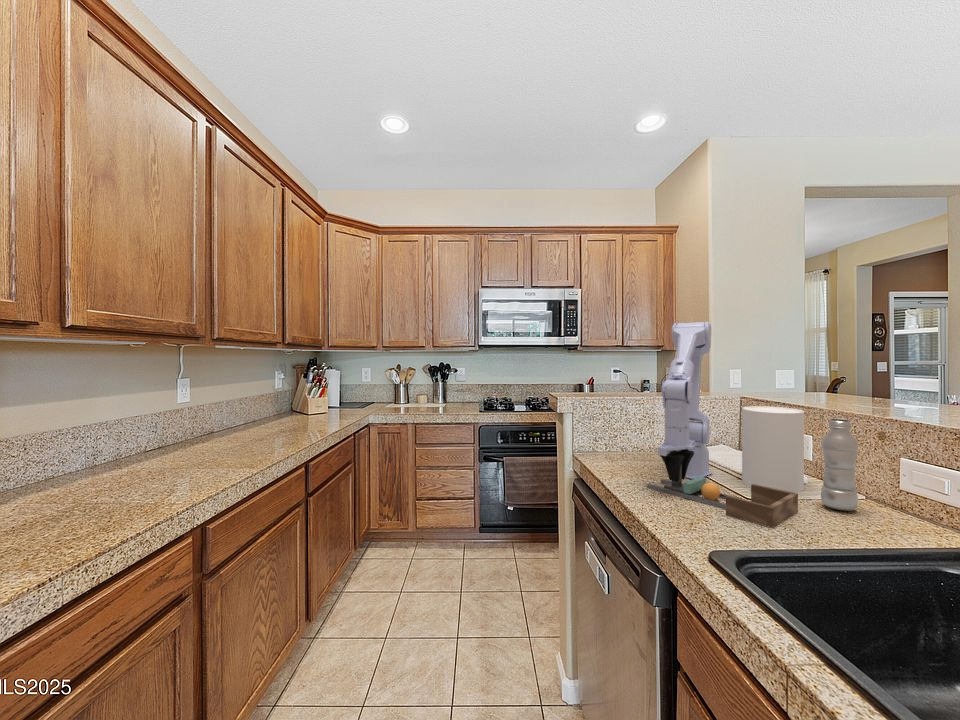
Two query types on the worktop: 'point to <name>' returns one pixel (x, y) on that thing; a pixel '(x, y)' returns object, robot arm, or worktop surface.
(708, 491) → the ball
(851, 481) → the plastic bottle
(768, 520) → the box
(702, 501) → the guide rails
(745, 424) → the canister
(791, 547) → the worktop surface
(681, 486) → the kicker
